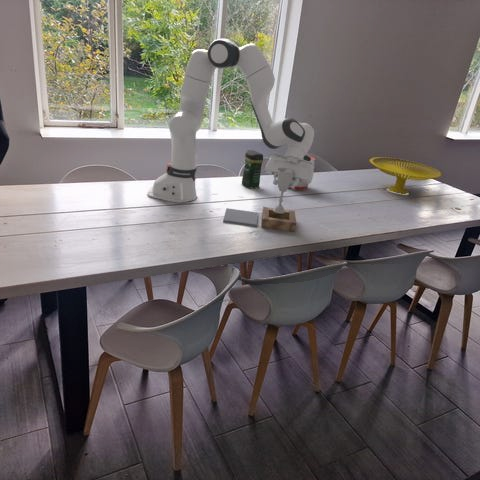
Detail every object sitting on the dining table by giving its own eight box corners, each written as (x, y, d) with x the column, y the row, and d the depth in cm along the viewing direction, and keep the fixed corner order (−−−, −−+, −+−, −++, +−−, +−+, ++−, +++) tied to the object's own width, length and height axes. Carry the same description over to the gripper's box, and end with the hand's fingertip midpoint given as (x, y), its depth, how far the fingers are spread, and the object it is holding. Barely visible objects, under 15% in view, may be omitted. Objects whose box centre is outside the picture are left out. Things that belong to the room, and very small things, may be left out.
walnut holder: (261, 227, 178) (262, 218, 176) (261, 215, 190) (263, 206, 189) (294, 232, 178) (296, 223, 176) (293, 219, 190) (294, 211, 189)
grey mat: (223, 222, 178) (223, 220, 177) (226, 210, 191) (226, 208, 190) (256, 226, 178) (256, 224, 177) (257, 214, 190) (257, 212, 190)
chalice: (275, 214, 177) (283, 172, 170) (267, 208, 183) (274, 167, 175) (290, 213, 181) (298, 172, 173) (281, 207, 186) (289, 167, 178)
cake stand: (393, 178, 277) (400, 156, 270) (448, 200, 247) (457, 175, 240) (348, 182, 256) (354, 157, 250) (402, 206, 226) (410, 179, 220)
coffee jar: (261, 188, 225) (266, 153, 217) (249, 189, 221) (253, 154, 213) (251, 182, 232) (256, 148, 225) (239, 183, 228) (243, 149, 220)
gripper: (270, 148, 181) (258, 176, 177) (317, 159, 175) (306, 188, 170) (272, 157, 187) (260, 183, 182) (317, 168, 180) (306, 196, 176)
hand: (283, 186), depth 176 cm, fingers closed on chalice, 6 cm apart
